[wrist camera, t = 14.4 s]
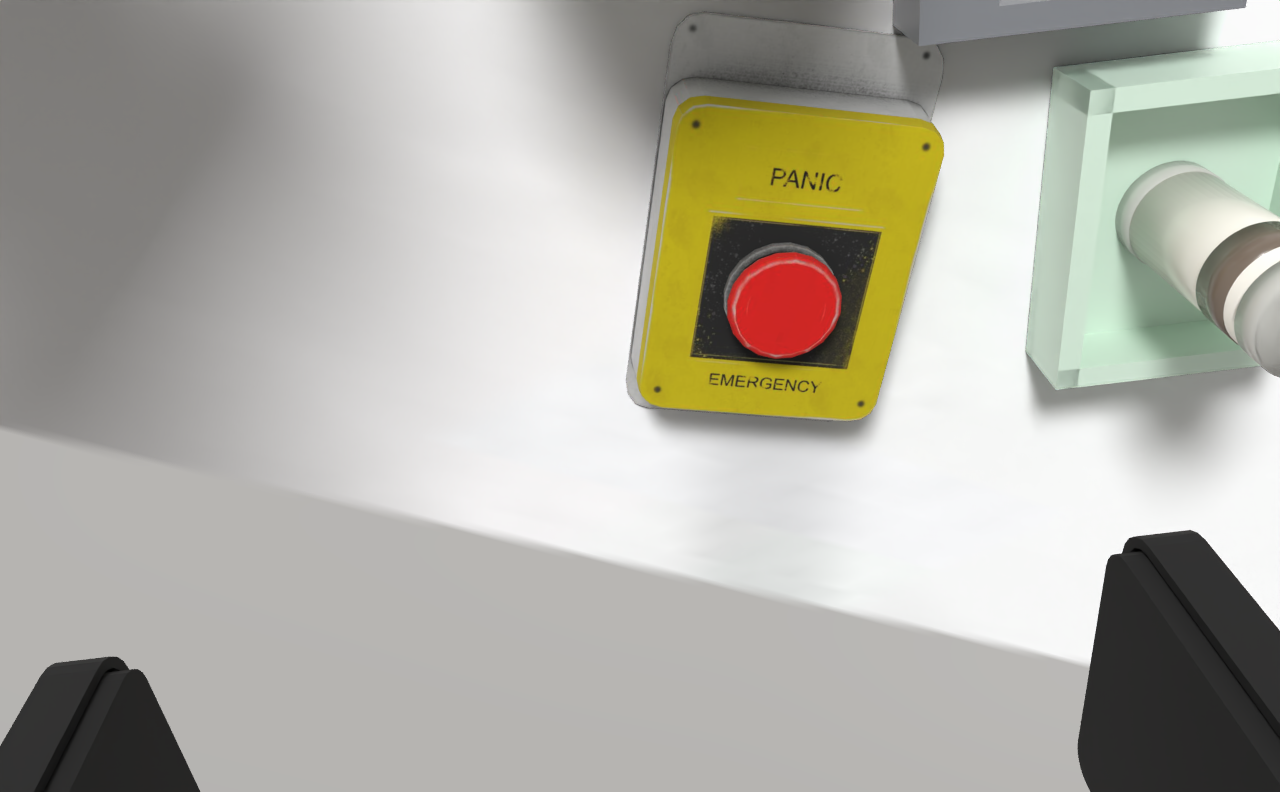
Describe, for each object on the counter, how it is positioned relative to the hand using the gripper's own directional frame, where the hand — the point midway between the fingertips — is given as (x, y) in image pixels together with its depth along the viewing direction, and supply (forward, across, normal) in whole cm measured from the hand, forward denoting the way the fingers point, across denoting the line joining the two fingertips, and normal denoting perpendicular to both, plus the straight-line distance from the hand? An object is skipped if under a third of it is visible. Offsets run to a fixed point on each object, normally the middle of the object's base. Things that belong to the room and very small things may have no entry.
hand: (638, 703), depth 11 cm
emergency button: (+29, -6, +8) cm, 31 cm away
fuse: (+28, -20, +8) cm, 35 cm away
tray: (+28, -20, +8) cm, 36 cm away
